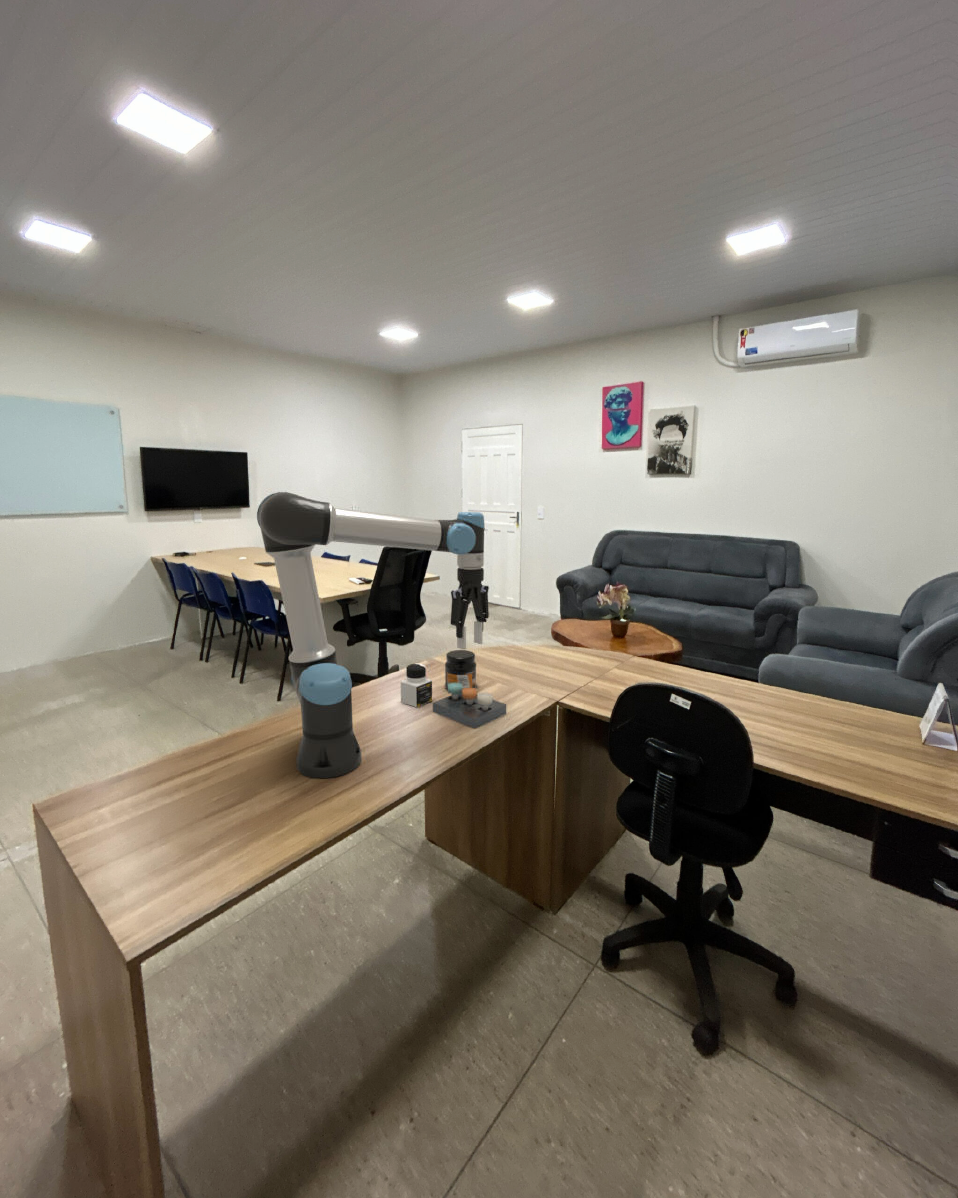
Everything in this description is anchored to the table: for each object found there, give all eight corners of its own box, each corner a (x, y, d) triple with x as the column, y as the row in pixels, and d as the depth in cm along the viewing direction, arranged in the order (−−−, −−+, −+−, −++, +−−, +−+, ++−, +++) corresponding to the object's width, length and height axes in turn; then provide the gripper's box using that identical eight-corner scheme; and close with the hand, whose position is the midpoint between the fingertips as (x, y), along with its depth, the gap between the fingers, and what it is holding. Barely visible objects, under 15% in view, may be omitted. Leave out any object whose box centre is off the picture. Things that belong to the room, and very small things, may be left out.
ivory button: (485, 715, 153) (485, 699, 152) (474, 711, 156) (474, 695, 155) (495, 710, 156) (495, 695, 155) (484, 706, 159) (484, 691, 158)
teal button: (455, 704, 160) (455, 688, 159) (444, 700, 163) (444, 685, 162) (465, 699, 164) (465, 685, 163) (454, 696, 167) (454, 681, 166)
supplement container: (465, 696, 173) (465, 660, 170) (438, 689, 178) (438, 655, 176) (482, 686, 182) (482, 652, 179) (456, 680, 187) (456, 647, 185)
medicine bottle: (416, 708, 163) (416, 670, 161) (400, 702, 167) (399, 665, 165) (432, 701, 169) (432, 664, 166) (416, 695, 173) (415, 660, 171)
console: (474, 728, 149) (475, 718, 149) (432, 711, 160) (432, 702, 160) (506, 713, 160) (506, 704, 159) (464, 698, 171) (464, 690, 170)
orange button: (470, 709, 157) (470, 694, 156) (459, 705, 159) (459, 690, 158) (479, 705, 160) (480, 690, 159) (469, 701, 163) (469, 686, 162)
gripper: (456, 572, 142) (456, 655, 146) (502, 565, 156) (500, 641, 161) (436, 569, 147) (437, 650, 151) (483, 562, 161) (482, 636, 165)
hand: (469, 645), depth 156 cm, fingers open, 6 cm apart
